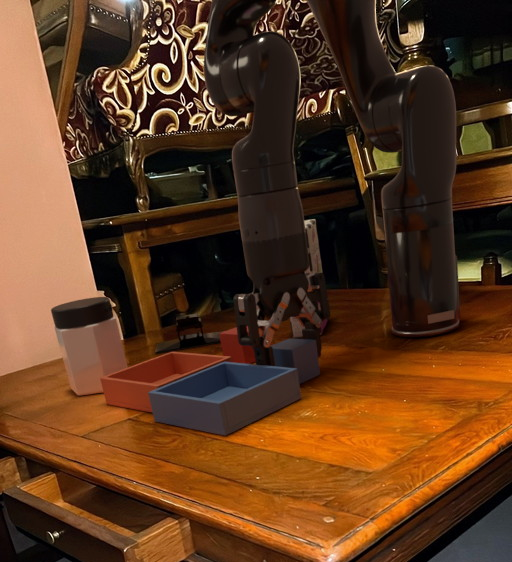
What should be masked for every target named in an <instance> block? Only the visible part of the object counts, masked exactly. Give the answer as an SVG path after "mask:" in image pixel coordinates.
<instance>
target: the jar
mask: <svg viewBox="0 0 512 562" xmlns="http://www.w3.org/2000/svg"><path fill="white" fill-rule="evenodd" d="M50 312H51V316H52V320H53V324H54V332H55V335H56V338H57V342H58V346H59V349H60V353H61V358H62V360H63V364H64V367H65V372H66V376H67V379H68V382H69V386H70V389H71V391H73V392H74V393H75V394H76V396H87V395H94V394H102V393H103V394H104V392H103V388H102V384H101V380H100V378H101V377H104V376H107V375H109V374H112V373H115V372H118V371H120V370H123V369H126V368H128V367H129V366H128V363H127V359H126V355H125V350H124V346H123V342H122V338H121V333H120V329H119V325H118V321H117V317H115V316H114V313H113V305H112V303H111V299H110V297H108V296H96V297H88V298H81V299H75V300H72V301H69V302H64V303H61V304H58V305H56V306H53V307H52V308H51V309H50Z"/></svg>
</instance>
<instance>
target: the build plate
mask: <svg viewBox="0 0 512 562" xmlns="http://www.w3.org/2000/svg"><path fill="white" fill-rule="evenodd" d="M203 328H204V322H203V321H202V319H201V318H200V317H199V313H198V312H196V313H191V314H186V315H185V314H184V315H180V316H176V324H175V332H177V336H178V338H174V339H170V340H165V341H162V342H157V343H156V348H155V350H154V351H155V352H154V353H155V355H158V354H166V353H170V352H177V351H180V350H186V349H192V348H198V347H204V346H209V345H214V344H221V341H220V336H219V333H222V332H224V331H225V330H223V331H215V332H207V333H204V329H203ZM189 329H200V331H197V332H196V333H192V334H186V333H185V334H183V335H182V334H181V332H184V331H186V330H189Z"/></svg>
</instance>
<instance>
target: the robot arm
mask: <svg viewBox="0 0 512 562" xmlns="http://www.w3.org/2000/svg"><path fill="white" fill-rule="evenodd" d="M305 1H306V3H307V5H308V7H309V10H310V11H311V13H312V15H313V18H314V19H315V22H316V24H317V26H318V28H319V30H320V32H321V34H322V37H323V39H324V41H325V43H326V46H327V47H328V49H329V51H330V53H331V55H332V57H333V60H334V62H335V64H336V67H337V70H338V72H339V74H340V77H341V79H342V82H343V84H344V87H345V89H346V92H347V95H348V97H349V100H350V103H351V105H352V108H353V110H354V113H355V116H356V118H357V120H358V123H359V125H360V127H361V130H362V132H363V133H364V135H365V137H366V139H367V140H368V142H369V144H371V145H372V146H373V147H374V148H375V149H377V150H378V151H380V152H382V153H388V154H389V153H391V154H392V153H400V152H401V166H400V169H399V171H398V172H397V174H395V177H394V178H392V180H390V181H389V182H387V183H386V184H385V185H383V187H382V188H381V191H380V203H381V214H382V225H383V237H384V247H385V257H386V270H387V280H388V291H389V293H388V294H389V304H390V315H391V333H392V334H393V336H397V337H401V338H426V337H432V336H438V335H443V334H447V333H449V332H452V331H454V330H457V329H458V328H459V327H460V322H461V306H460V305H461V304H460V290H459V289H460V288H459V287H460V284H459V270H458V267H459V266H458V256H457V255H456V247H455V232H454V231H455V229H454V214H453V183H454V180H455V176H456V171H457V107H456V97H455V93H454V88H453V85H452V83H451V81H450V78H449V76H448V75H447V73H446V72H445V71H444V70H443V69H442V68H440V67H438V66H435V65H423V66H417V67H415V68H411V69H408V70H404V71H401V72H398V73H397V72H396V71H395V69H394V67H393V65H392V64H391V61H390V59H389V57H388V55H387V53H386V50H385V49H384V46H383V43H382V41H381V37H380V34H379V29H378V26H377V13H376V12H377V11H376V9H377V8H376V7H377V6H376V4H377V0H305ZM277 2H278V0H211V4H210V9H209V14H208V15H209V16H208V21H207V22H208V23H207V31H206V38H205V39H206V40H205V47H204V57H203V77H204V84H205V88H206V91H207V93H208V97H209V98H210V101H211V102H212V104H213V105H214V107H215V108H216V109H217V110H218V111H219V112H220V113H222V114H223V115H225V116H227V117H228V116H229V117H241V116H245V115H248V114H252V113H253V116H252V117H253V118H252V124H251V125H252V126H251V130H250V132H249V133H248V135H246V136H245V137H243V138H242V139H241V138H240V140H238V141H237V142H235V144H234V145H233V147H232V149H231V163H232V171H233V176H234V182H235V188H236V189H235V190H236V195H237V205H238V206H237V207H238V208H237V209H238V223H239V224H238V225H239V229H240V237H241V241H242V242H241V243H242V248H243V256H244V261H245V262H244V263H245V269H246V275H247V277H248V278H250V280H251V281H252V284H253V286H252V287H253V288H252V292H250V293H236V294H234V296H233V298H232V299H233V309H234V317H235V326H236V327H237V335H238V342H239V344H240V345H244V346H251V347H252V348H253V349H254V354H255V361H256V362H255V365H266V366H275V362H274V355H273V348H272V347H271V346H272V342H273V339H274V336H275V334H276V333H275V332H277V331H279V329H280V326H281V324H282V322H286V321H288V320H290V317H295V318H297V320H298V321H299V322H300V323H301V325H302V326H303V327H305V329H302V336H303V338H302V339H309V340H316V345H317V353H318V358H321V356H322V348H323V346H322V338H321V335H320V327H321V325H322V322H323V321H324V320H325V319H330V317H331V309H330V302H329V295H328V290H327V284H326V277H325V273H324V272H323V273H317V272H315V273H306V274H305V271H306V270H307V269H308V268H309V265H310V264H309V255H308V247H307V239H306V231H305V222H304V221H305V214H304V208H303V203H302V199H301V195H300V190H299V187H298V186H299V183H298V176H297V167H296V159H295V154H294V153H295V152H294V147H295V137H296V130H297V121H298V111H299V103H300V96H301V95H300V94H301V68H300V63H299V59H298V56H297V53H296V51H295V49H294V47H293V45H292V43H291V42H290V41H289V40H288V39H287V37H286V36H285V35H283V34H282V33H281V32H278V31H275V30H269V31H267V30H266V31H263V32H259V33H256V34H255V32H256V28H257V25H258V23H259V22H260V21H261V19H262V18H263V17H264V16H266V15H267V14H269V12H270V11H271V10H272V9H273V8H274V7H275V6H276V5H277ZM317 301H318V302H319V303H320V309H321V310H318V306H317ZM266 319H267V320H266ZM247 326H248V331H249V335H248V334H247ZM263 331H264V334H263V337H261V336H262V333H263Z"/></svg>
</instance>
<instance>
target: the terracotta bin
mask: <svg viewBox="0 0 512 562" xmlns="http://www.w3.org/2000/svg"><path fill="white" fill-rule="evenodd" d="M222 362H232V358H231V357H229V356H223V355H216V354H206V353H192V352H181V351H170V352H166V353H163V354H162V355H159V356H156V357H153V358H151V359H147V360H145V361H142V362H140V363H137V364H134V365H131V366H127V367H128V368H126V369H123V370H120V371H118V372H115V373H112V374H109V375H107V376H104V377H101V378H100V380H101V384H102V388H103V395H104V400H105V403H106V405H110V406H114V407H115V406H116V407H119V408H125V409H126V408H127V409H130V410H137V411H142V412H148V413H151V414H153V412H152V407H151V403H150V398H149V394H148V392H150V391H153V390H155V389H158V388H160V387H163V386H165V385H168V384H170V383H173V382H175V381H178V380H180V379H183V378H185V377H187V376H190V375H192V374H195V373H197V372H200V371H202V370H205V369H207V368H210V367H212V366H215V365H217V364H220V363H222Z"/></svg>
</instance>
